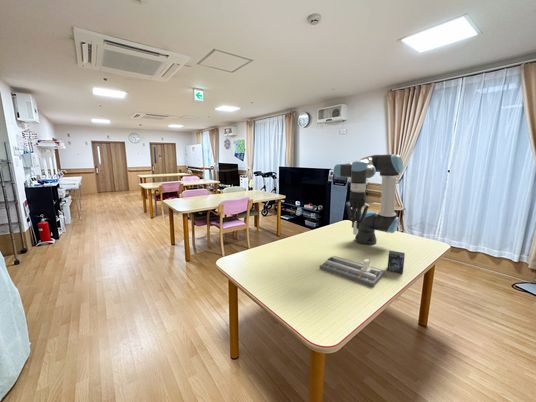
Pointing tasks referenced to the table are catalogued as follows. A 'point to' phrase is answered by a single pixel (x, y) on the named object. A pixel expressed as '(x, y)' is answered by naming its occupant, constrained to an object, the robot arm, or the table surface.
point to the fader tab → (366, 266)
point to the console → (352, 270)
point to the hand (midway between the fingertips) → (355, 233)
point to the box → (396, 261)
